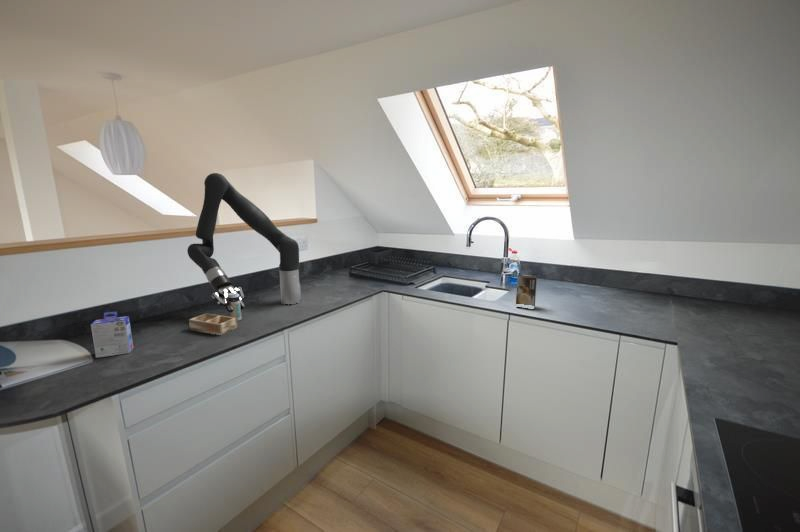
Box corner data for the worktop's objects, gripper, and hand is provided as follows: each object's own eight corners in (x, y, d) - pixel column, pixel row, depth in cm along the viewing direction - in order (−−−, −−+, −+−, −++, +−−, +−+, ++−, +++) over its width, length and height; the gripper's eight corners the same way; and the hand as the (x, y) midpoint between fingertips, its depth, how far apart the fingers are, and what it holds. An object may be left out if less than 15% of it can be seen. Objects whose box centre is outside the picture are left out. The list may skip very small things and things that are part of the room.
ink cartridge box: (134, 347, 133) (128, 309, 130) (130, 353, 128) (125, 313, 125) (100, 352, 129) (93, 312, 126) (95, 358, 124) (88, 317, 121)
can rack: (207, 323, 158) (206, 313, 157) (237, 328, 152) (236, 317, 151) (189, 330, 150) (188, 319, 149) (220, 335, 144) (219, 324, 143)
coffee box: (535, 306, 184) (537, 275, 181) (534, 310, 178) (537, 278, 175) (516, 304, 188) (518, 273, 184) (514, 308, 182) (517, 276, 179)
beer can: (232, 318, 164) (229, 292, 161) (243, 318, 164) (241, 292, 162) (228, 322, 159) (225, 295, 156) (239, 322, 159) (237, 295, 157)
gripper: (205, 277, 155) (225, 309, 152) (235, 271, 167) (255, 301, 164) (199, 287, 159) (219, 319, 155) (229, 281, 171) (248, 310, 167)
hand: (237, 309), depth 159 cm, fingers closed on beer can, 4 cm apart
